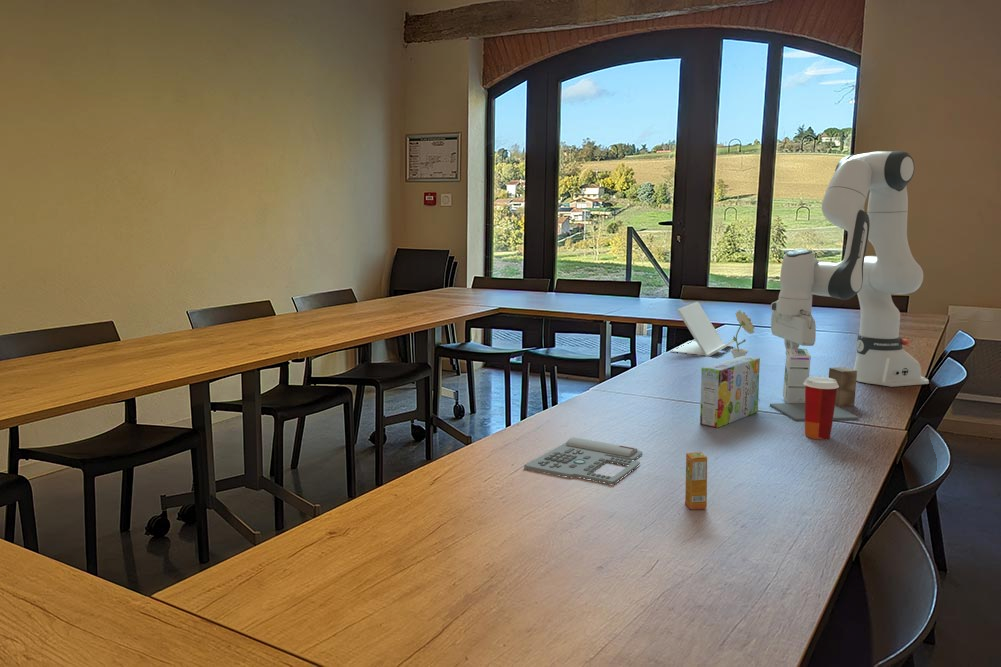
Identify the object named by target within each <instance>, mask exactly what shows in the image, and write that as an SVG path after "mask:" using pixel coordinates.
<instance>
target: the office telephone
mask: <svg viewBox="0 0 1001 667" xmlns="http://www.w3.org/2000/svg"><path fill="white" fill-rule="evenodd" d="M640 455H642V456H643V451H642V450H639V449H638V448H635V447H630V446H625V445H619V444H614V443H608V442H602V441H598V440H597V441H596V440H592V439H588V438H587V439H586V438H579V437H575V436H572V437H570V438H568V440H567V441H566V442H564V443H563V444H561V445H559V446H557V447H555V448H553V449H551V450H549V451H548V452H546V453H544V454H542V455H540V456H539V457H536V458H534V459H533V460H530V461H528V462H527V463H525V464H523V466H524V469H525V470H528V471H532V470H534V471H533V472H537V471H540V472H539V473H542V472H545V473H544V474H547V473H550V474H549V475H552V474H554V475H553V476H557V475H560V476H559V477H562V476H567V477H581V478H585V479H591V480H594V481H593V482H595V481H600V482H605V483H608V484H614V483H616V482H617V481H618V480H620V479H621V478H622V477H624V476H625V475H626V474H628V473H629V472H630V471H632V470H633V469H635V468H636V467H637V466H638V465H639V464H640V465H641V462H640V461H637V459H638V458H637V457H639V456H640ZM640 457H641V456H640ZM640 457H639V458H640ZM636 458H637V459H636ZM635 459H636V460H635ZM632 460H634V461H632ZM605 462H606V463H607V462H613V463H618V464H624V465H629V466H625V467H624V468H623V469H622V470H620V471H619V472H617V473H616V474H615V475H613V476H610V475H606V474H601V473H594V472H595V471H596V470H597V469H596V468H598V467H599V466H600V467H602V466H603V465H605V464H606V463H605ZM604 463H605V464H604ZM613 463H612V464H613ZM602 464H603V465H602ZM618 464H617V465H618ZM601 465H602V466H601ZM600 467H599V468H600ZM599 468H598V469H599ZM637 468H638V467H637ZM637 468H636V469H637ZM595 469H596V470H595ZM636 469H635V470H636ZM594 470H595V471H594ZM592 471H593V472H592ZM591 472H592V473H591ZM632 472H633V471H632ZM628 475H629V474H628ZM567 477H566V478H567ZM624 478H625V477H624ZM585 479H584V480H585ZM620 481H621V480H620ZM600 482H599V483H600ZM605 483H604V484H605ZM608 484H607V485H608ZM616 484H617V483H616Z"/></svg>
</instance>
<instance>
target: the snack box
mask: <svg viewBox="0 0 1001 667" xmlns="http://www.w3.org/2000/svg"><path fill="white" fill-rule="evenodd" d="M760 361H761V359H760V357H756V356H750V355H749V356H748V355H745V356H740V357H737V358H734V357H733V358H730V359H727V360H724V361H721V362H716V363H713V364H710V365H707V366H704V367H701V380H700V416H699V424H700V425H701V424H703V425H702V426H706V425H708V426H707V427H712V428H715V427H716V428H715V429H719V428H721V427H723V425H724V426H726V425H729V424H731V423H733V422H736V421H739V420H741V419H744V418H746V417H749V416H751V415H754V414H756V413H758V412H759V394H760V393H759V391H760V390H759V389H760V388H759V386H760ZM728 423H729V424H728ZM718 427H719V428H718Z"/></svg>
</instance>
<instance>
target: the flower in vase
mask: <svg viewBox="0 0 1001 667" xmlns="http://www.w3.org/2000/svg"><path fill="white" fill-rule="evenodd" d="M735 317H736V320H737V322H738V324H739V327H738V330H737V331H736V334H735V335H733V337H732V338H733V339H732V340H734V342H735V343H736V348H730V350H729V351H730V352H731V354H732V356H733V359H734V358H737V357H740V356H747V354H748V352H749V349H746V348H739V345H741V344H743V343H745V342H746V341H747V340H746V339H745V338H744V339H743V340H742V341H740V342H738V334H739V332H740V329H741V328H742V329H743V330H744V331H745V332H747V333H748V334H750V335H752V334H754V333H755V331H754V330H755V326H754V325H753V322H752V319H751V318H750V317H748V314H746V313H745V311H741V310H740V309H739V310H738V311H736V312H735Z"/></svg>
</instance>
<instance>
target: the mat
mask: <svg viewBox="0 0 1001 667" xmlns="http://www.w3.org/2000/svg"><path fill="white" fill-rule="evenodd" d="M769 406H770V407H771V406H772V408H773V409H774V408H775V410H776V409H777V410H776V411H778V412H779V411H780V412H779V413H781V412H782V413H781V414H783V415H784V414H785V415H784V416H786V415H787V416H786V417H788V418H789V417H790V419H791V418H792V421H795V422H801V421H803V422H805V403H786V402H784V403H782V402H781V403H780V402H779V403H778V402H776V403H775V402H774V403H769ZM842 420H843V421H846V420H847V421H849V420H854V421H855V420H859V416H857V415H855V414H853V413H851V412H849V411H847V410H845V409H843V408H842V407H837V406H835V408H834V415H833V421H842Z"/></svg>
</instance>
